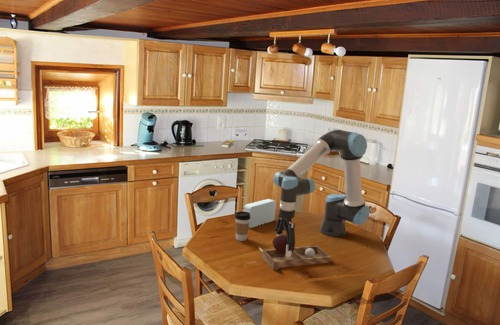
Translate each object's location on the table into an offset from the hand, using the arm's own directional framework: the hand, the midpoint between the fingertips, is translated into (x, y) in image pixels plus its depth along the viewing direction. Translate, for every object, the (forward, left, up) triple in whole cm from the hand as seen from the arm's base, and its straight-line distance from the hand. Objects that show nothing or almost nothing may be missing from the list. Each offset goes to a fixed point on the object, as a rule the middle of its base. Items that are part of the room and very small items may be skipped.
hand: (283, 251), depth 218 cm
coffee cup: (+10, -32, -6) cm, 34 cm away
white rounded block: (-9, -54, -6) cm, 55 cm away
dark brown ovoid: (0, 0, -1) cm, 1 cm away
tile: (+2, -13, -6) cm, 14 cm away
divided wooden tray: (-8, 0, -6) cm, 9 cm away
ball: (-15, 0, -5) cm, 16 cm away
